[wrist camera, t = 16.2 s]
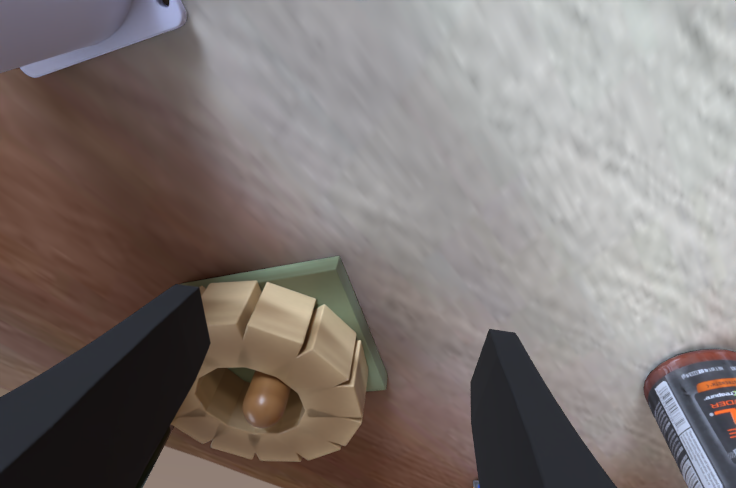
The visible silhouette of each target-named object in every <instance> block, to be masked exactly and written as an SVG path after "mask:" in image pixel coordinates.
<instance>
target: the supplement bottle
mask: <svg viewBox="0 0 736 488" xmlns="http://www.w3.org/2000/svg"><path fill="white" fill-rule="evenodd" d="M644 395H645V398H646V400H647V402H648V405H649V407H650V409H651V411H652V414H653V416H654V417H655V419H656V422H657V424H658V426H659V428H660V430H661V432H662V434H663V436H664V438H665V440H666V443H667V445H668V447H669V449H670V451H671V453H672V455H673V457H674V459H675V461H676V463H677V465H678V467H679V469H680V472H681V474H682V476H683V477H684V480H685V482H686V484H687V486H688V488H736V352H733V351H728V350H718V349H707V350H698V351H692V352H688V353H684V354H680V355H677V356H675V357H673V358H670V359H668V360H667V361H665V362H663V363H661V364H660V365H659V366H658V367H656V368H655V369H654V370H653V371H652V372H651V373H650V374H649V375H648V377H647V379H646V380H645V384H644Z"/></svg>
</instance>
